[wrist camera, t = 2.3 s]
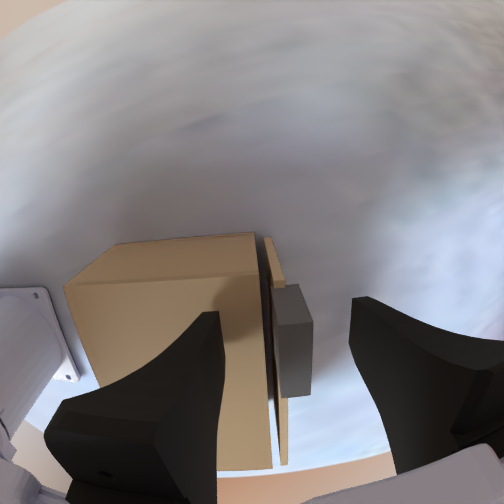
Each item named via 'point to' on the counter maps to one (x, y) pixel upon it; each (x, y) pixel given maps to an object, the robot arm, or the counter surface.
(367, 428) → the counter surface
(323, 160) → the counter surface
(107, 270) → the carton
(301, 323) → the carton flap
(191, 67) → the counter surface
